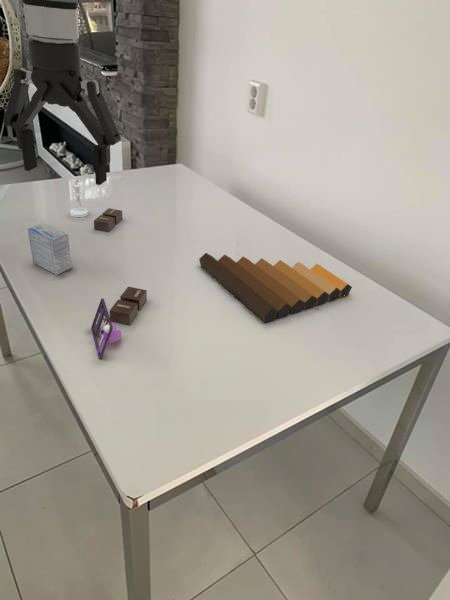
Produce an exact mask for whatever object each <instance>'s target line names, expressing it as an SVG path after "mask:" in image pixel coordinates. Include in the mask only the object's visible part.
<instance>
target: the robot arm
mask: <svg viewBox="0 0 450 600" xmlns="http://www.w3.org/2000/svg"><path fill="white" fill-rule="evenodd" d="M22 4H23V5H22V6H23V13H24V22H25V31H26V34H27V35H28V36H30V37H31V38H29V39H28V41H27V47H28V54H29V55H28V56H29V57H28V58H29V63H30V65H31V67H32V69H31V70H32V71H31V70H29V68H27V67H20V68H15V69H14V70H13V86H12V90H11V93H10V96H9V99H8V103H7V106H6V109H5V113H4V115H3V120H2V122H3V125H4V126H6V127H11V128H12V129H13V130H14V131H15V136H16V143H17V144H16V145H17V148H18V150H21V153H22V160H23V167H24V171H27V172H30V171H32V170H33V169H35V168H37V167H38V162H37V154H36V146H35V137H34V131H33V130H34V129H30V127H31V124H32V123H33V121H34V119H35V118H36V116H37V115H38V114H39V113H40V112H41V110H42V109H43V107H44V105H46V103H47V105H57V106H59V107H64V108H67V107H69V109H70V110H71V112H74V113H75V115H76V116H77V117H78V119H79V120H80V121H81V123H82V124H83V126H84V127H85V129H86V130H87V131H88V133H89V134H90V136H91V137H92V138H93V140H94V141H95V142H96V145H94V146H93V157H94V176H95V185H97V186H101V185H102V184H103V183H105V182H106V181H108V180H107V179H108V177H107V166H108V165H110V164H111V146H115V145H116V144H118V143H120V142H121V141H122V137H121V134H120V132H119V130H118V128H117V125H116V124H115V121H114V119H113V116H112V114H111V112H110V110H109V108H108V105H107V103H106V100H105V97H104V96H103V91H102V84H101V81H100V80H99V79H92V80H83V77H82V73H81V72H82V71H81V70H82V60H81V58H82V56H81V46H80V45H79V43H78V42H76V41H77V40H79V39H80V30H79V29H80V28H79V11H78V10H79V9H78V0H22ZM32 83H33V85H34V87H35V88H36V90H35V91H34V93H33V95H32V96H31V98H30V101H29V103H28V104H27V105H26V107H25V108H24V110H23V107H24V105H25V101H26V97H27V95H28V92H29V88H30V85H31V84H32ZM83 90H84V94H85V95H87V96H88V100H89V102H90V103H89V104H90V105H91V108H92V109H93V111H91V109H90V107H89V106H88V102H87V100H86V99H85V98H84V97H83V95H82V94H81V93H82V91H83ZM22 110H23V111H22ZM93 112H94V113H93ZM94 114H95V115H94Z"/></svg>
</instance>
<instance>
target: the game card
mask: <svg viewBox="0 0 450 600" xmlns="http://www.w3.org/2000/svg"><path fill="white" fill-rule="evenodd" d="M102 323H104V326H103V327H102V328H101V326H102ZM90 329H91V334H92V338H93V341H94V345H95V349H96V353H97V356H98V360H102V358H103V356H104V353H105V350H106V348H107V345H108V343H109V344H110V343H111V344H112V343H116V342H117V341H119V340H120V339H121V337H122V331H121V329H120V328H119V327H118V326H117V325H114V324H113V322H112V321H111V320H110V313H109V310H108V307H107V304H106V301H105V299H104V298H103V297H102V298H100V301H99V304H98V307H97V310H96V313H95V315H94V318H93V321H92V323H91V328H90ZM98 334H99V336H100V341H99V342H98V338H97V337H98Z"/></svg>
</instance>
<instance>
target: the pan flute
mask: <svg viewBox="0 0 450 600" xmlns="http://www.w3.org/2000/svg"><path fill="white" fill-rule="evenodd" d="M198 261H199V264H200V267H201V268H202V269H204V270H205V271H206V273H208V274H209V275H210V276H211V277H212V278H213V279H215V281H217V282H218V283H219V284H220V285H221V286H222V287H223V288H225V289H226V290H227V292H229V293H230V294H232V295H233V297H235V298H236V299H237V300H238V301H239V302H240V303H242V304H243V305H244V306H245V307H246V308H247V309H248V310H249V311H250V312H252V313H253V314H254V315H255V317H257V318H259V319H260V321H262V322H263V323H264V324H269V323H272V322H274V321H275V320H276V318H277V319H279V320H280V319H283V318H287V317H288V315H289V314H291V315H294V314H298V313H301V312H302V309H303V310H305V311H306V310H309V309H312V308H314V306H315V305H316V306H322V305H324V304H326V302H329V303H330V302H333V301H336V300H337V299H338V298H340V299H342V298H346V297H348V296H349V294H350V292H351V290H352V288H353V286H351V285H350V284H349V283H347V282H346V281H344V280H343V279H341V278H340V277H339V276H337V275H336V274H334V273H332V272H331V271H330V270H328V269H327V268H325V267H323V266H322V265H320V264H319V263H316V264H314V265H313V266H312V268H309V267H307V266H305V264H303V263H301V262H300V261H297V262H296V263H295V264H294V265H293V266H290V265H288V264H287V263H285V262H284V261H283V260H281V259H279V260H278V261H277V262H275V264H274V265H273V264H271V263H270V262H268V261H267V260H265V259H264V258H262V257H261V258H260V259H259V260H257V262H255V263H254V262H252V261H251V260H250V259H249V258H247V257H245V256H241V257H240V259H238V260H237V261H235V260H234V259H232V258H231V257H230V256H228V255H226V254H223V255H222V256H221V257H220V258H219V259H217V258H215V257H214V256H212V255H211V254H209V253H208V252H205V253H203V255H201V257H199V259H198ZM347 294H348V295H347ZM344 295H345V296H344Z"/></svg>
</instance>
